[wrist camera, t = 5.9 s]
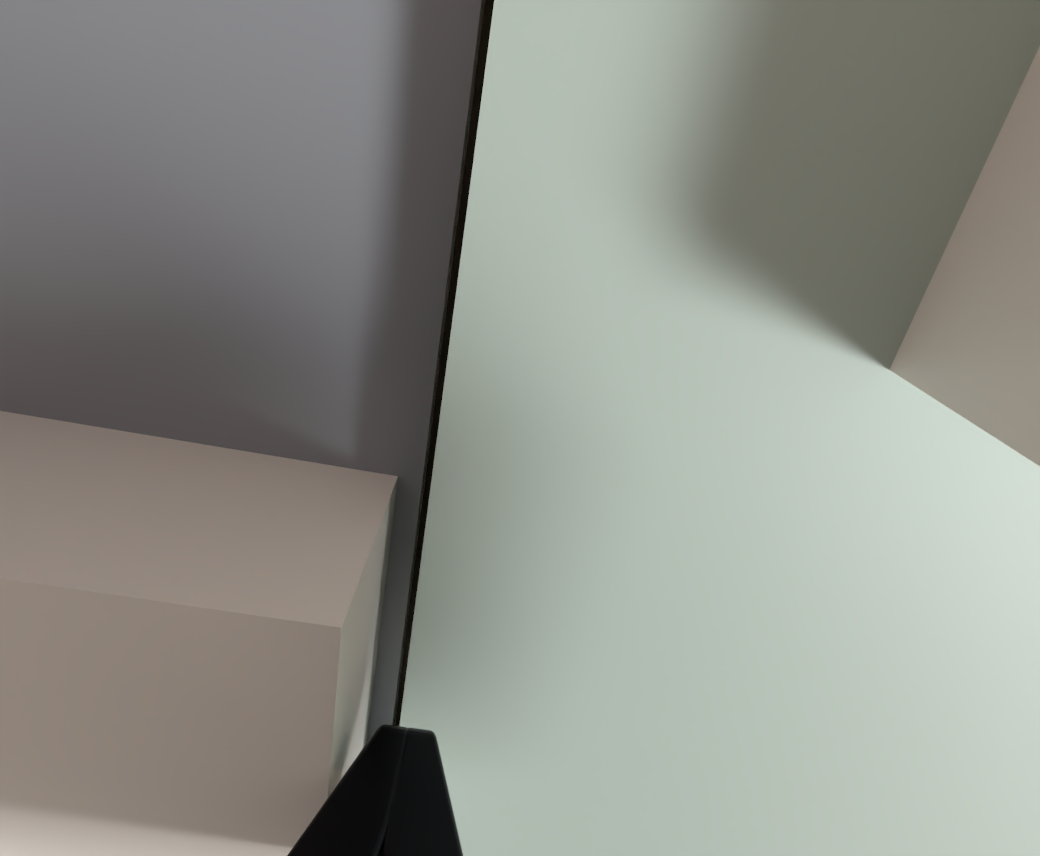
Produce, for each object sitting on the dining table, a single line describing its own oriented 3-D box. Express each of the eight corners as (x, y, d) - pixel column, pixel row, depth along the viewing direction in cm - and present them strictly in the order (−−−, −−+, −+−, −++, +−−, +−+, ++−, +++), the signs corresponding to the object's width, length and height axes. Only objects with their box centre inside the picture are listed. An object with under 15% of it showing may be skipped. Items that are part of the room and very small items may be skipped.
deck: (947, 846, 13) (994, 926, 12) (397, 780, 12) (382, 858, 11) (2001, -482, 5) (2525, -703, 4) (630, -923, 4) (677, -1398, 3)
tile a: (365, 751, 11) (315, 943, 9) (29, 707, 11) (-134, 894, 8) (398, 475, 9) (341, 627, 6) (-40, 404, 8) (-310, 532, 6)
